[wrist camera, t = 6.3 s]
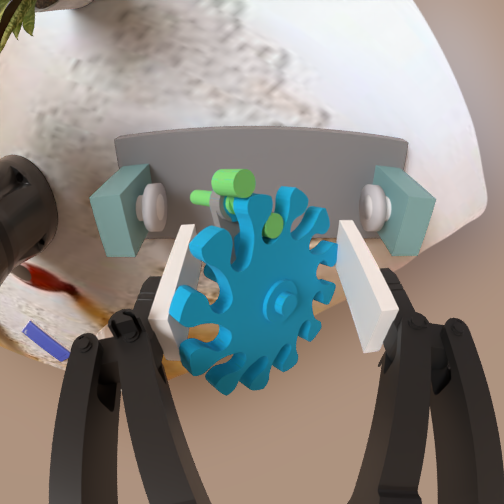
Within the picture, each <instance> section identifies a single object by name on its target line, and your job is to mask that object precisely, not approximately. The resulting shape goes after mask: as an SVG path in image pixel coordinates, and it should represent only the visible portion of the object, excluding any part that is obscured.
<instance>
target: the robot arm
mask: <svg viewBox="0 0 504 504" xmlns="http://www.w3.org/2000/svg"><path fill="white" fill-rule="evenodd" d="M56 229H57V209H56V204H55V200H54V197H53V194H52V191H51V189H50V187H49V185H48V183H47V181H46V179H45V178H44V176H43V175H42V173H41V172H40V171H39V170H38V169H37V167H36V166H35V165H33V164H32V163H31V162H30V161H28V160H27V159H25V158H23V157H21V156H17V155H8V156H5V157H3V158H1V159H0V286H1V284H2V283H3V281H4V280H5V279H6V277H7V276H8V274H9V273H10V272H11V271H12V269H13V268H14V267H16V266H18V265H20V264H21V263H23V262H25V261H27V260H28V259H30V258H32V257H34V256H36V255H37V254H39V253H41V252H42V251H43V250H44V249H45V248H46V246H47V245H48V244H49V243H50V242H51V240H52V239H53V237H54V235H55V233H56ZM196 235H197V234H196V228H195V224H189V225H181V227H180V229H179V232H178V234H177V237H176V240H175V242H174V245H173V248H172V250H171V253H170V256H169V258H168V261H167V264H166V267H165V269H164V272H163V275H162V277H149V278H148V279H147V280H146V281H145V282H144V283H143V285H142V288H141V290H140V294H139V296H138V298H137V301H136V303H135V306H134V309H133V310H132V309H122V310H120V311H118V312H116V313H115V314H113V315H112V316H111V318H110V319H109V321H108V327H109V329H110V331H111V333H112V334H113V337H109V338H105V339H100V340H98V338H97V336H95V335H94V334H91V333H86V334H82V335H80V336H79V337H77V338H76V340H75V341H74V342H73V345H72V347H71V351H70V355H69V359H68V363H67V367H66V371H65V375H64V379H63V384H62V388H61V393H60V398H59V403H58V409H57V415H56V421H55V428H54V435H53V443H52V453H51V464H50V479H49V504H118V496H117V444H118V423H119V409H120V396H121V389H122V395H123V401H124V406H125V412H126V417H127V422H128V427H129V432H130V436H131V441H132V445H133V449H134V453H135V457H136V461H137V464H138V468H139V472H140V475H141V478H142V481H143V485H144V488H145V491H146V494H147V497H148V500H149V503H150V504H211V502H210V500H209V497H208V495H207V493H206V490H205V488H204V486H203V483H202V481H201V479H200V476H199V474H198V471H197V469H196V466H195V463H194V461H193V458H192V456H191V453H190V450H189V448H188V445H187V442H186V439H185V436H184V433H183V430H182V427H181V424H180V421H179V418H178V415H177V412H176V409H175V405H174V402H173V398H172V395H171V392H170V388H169V384H168V381H167V377H166V373H165V369H164V366H163V364H162V357H163V354H164V356H165V358H166V360H173V361H181V359H180V355H179V347H180V344H181V343H182V342H183V341H185V340H187V337H188V332H189V327H185V326H183V325H181V324H180V323H179V322H178V321H176V320H175V319H174V318H173V317H172V316H171V315H170V314H169V308H170V304H171V301H172V298H173V296H174V294H175V292H176V290H177V289H178V287H179V286H180V285H188V286H190V287H192V288H194V289H195V290H197V285H198V280H199V275H200V270H201V266H202V263H201V260H199V259H196V258H195V257H194V256H193V255H192V254H191V252H190V249H189V243H190V242H191V241H192V240H193V238H194V237H195V236H196ZM336 243H337V244H338V251H337V261H336V264H335V267H336V270H337V272H338V275H339V278H340V281H341V284H342V287H343V290H344V292H345V295H346V298H347V301H348V304H349V307H350V311H351V314H352V317H353V320H354V323H355V326H356V329H357V333H358V336H359V339H360V343H361V346H362V349H363V353H369V352H376V351H379V350H380V348H381V346H382V344H384V347H385V350H386V351H385V353H384V354H383V356H382V358H381V360H380V362H379V364H378V367H380V366H381V364H382V367H381V374H380V381H379V388H378V394H377V399H376V405H375V410H374V415H373V421H372V425H371V430H370V434H369V438H368V443H367V447H366V451H365V454H364V458H363V462H362V466H361V469H360V472H359V476H358V479H357V482H356V486H355V489H354V492H353V495H352V497H351V499H350V500H349V502H348V503H347V504H422V501H421V498H420V496H419V495H418V491H417V490H418V485H419V480H420V476H421V470H422V465H423V459H424V453H425V446H426V439H427V430H428V419H429V407H430V409H431V416H432V423H433V431H434V439H435V449H436V462H437V481H438V504H504V470H503V460H502V452H501V445H500V438H499V432H498V427H497V422H496V417H495V412H494V408H493V404H492V400H491V396H490V392H489V388H488V384H487V381H486V377H485V374H484V371H483V368H482V365H481V361H480V358H479V356H478V353H477V350H476V347H475V344H474V341H473V339H472V336H471V333H470V331H469V329H468V327H467V325H466V324H465V323H464V322H463V321H462V320H460V319H457V318H450V319H449V320H447V322H446V323H445V325H438V324H432V323H429V322H428V320H427V319H426V317H424V316H423V315H422V314H420V313H417V312H415V310H414V308H413V306H412V304H411V302H410V300H409V298H408V296H407V294H406V292H405V290H403V287H402V285H401V284H400V281H399V279H398V278H397V276H396V274H395V273H393V272H392V271H391V270H390V269H389V268H382V269H379V267H378V265H377V263H376V262H375V260H374V258H373V256H372V254H371V252H370V250H369V248H368V247H367V245H366V243H365V241H364V239H363V238H362V236H361V234H360V232H359V231H358V229H357V227H356V225H355V224H354V222H353V220H339V227H338V234H337V241H336Z"/></svg>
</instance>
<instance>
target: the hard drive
mask: <svg viewBox="0 0 504 504" xmlns="http://www.w3.org/2000/svg"><path fill="white" fill-rule="evenodd" d="M22 332H23V333H24V334H25V335H26V336H28V337H29V338H30V339H31V340H32V341H34V342H35V343H36V344H38V345H39V346H40V347H41V348H43V349H44V350H45V351H47V352H48V353H49V354H51V355H52V356H53V357H55V358H56V359H58V360H59V361H61V362H62V361H64V360H65V359H67V358H69V355H70V351H71V350H70V349H69V348H67V347H66V346H64V345H63V344H62V343H61V342H59V341H58V340H57V339H55V338H54V337H53V336H52V335H50V334H49V333H48V332H47V331H45V330H44V329H43V328H42V327H40V326H39V325H38V324H37V323H36V322H34V321H33V320H32V319H30V320H29V321H28V323H27V324H26V325H25V327H24V328H23V329H22Z"/></svg>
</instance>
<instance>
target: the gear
mask: <svg viewBox="0 0 504 504" xmlns="http://www.w3.org/2000/svg"><path fill="white" fill-rule="evenodd" d="M211 184H212V189H213V190H212V191H206V190H194V191H193V192H192V193H191V195H190V200H191V202H192V203H193V204H196V205H202V206H208V207H210V210H211V213H212V217H213V221H214V224H215V226H212V225H211V226H208V227H206V228H205V229H203V230H202V231H200V232H199V233H198V234H197V235H196V236H195V237H194V238H193V240H192V241H191V242H190V243H189V249H190V252H191V254H192V255H193V256H194V257H195V258H196V259H199V260H201V261H203V262H204V263H206V265H205V267H204V275H205V276H206V277H207V278H209V279H211V280H213V281H215V282H217V283H218V285H219V288H220V294H219V297H218V299H217V300H216V301H215V303H213V304H212V305H209V302H208V299H207V298H206V296H205V295H203V294H202V293H200V292H198V291H197V290H195V289H194V288H192V287H190V286H188V285H180V286H179V287H178V289H177V290H176V292H175V294H174V296H173V298H172V301H171V304H170V308H169V314H170V315H171V316H172V317H173V318H174V319H175V320H176V321H178V322H179V323H180V324H181V325H183V326H185V327H194V326H197V325H200V324H205V323H214V324H218V325H219V333H218V335H217V337H216V338H215V339H214V340H213V341H211V342H208V343H205V342H202V341H200V340H198V339H195V338H190V339H187V340H185V341H183V342H182V343H181V344H180V347H179V355H180V359H181V362H182V365H183V366H184V367H185V368H186V369H187V370H188V371H189V372H190V373H191V374H192V375H193V376H198V375H201V374H203V373H205V372H206V371H207V370H208V369H209V368H210V367H211V366H212V365H213V364H215V363H216V362H217V361H219V360H220V359H222V358H224V357H226V356H228V355H231V354H233V356H232V358H231V359H230V360H229V361H228V362H226V363H223V364H219V365H216V366H214V367H212V368H211V369H210V370H209V371H208V372H207V374H206V375H205V377H206V380H207V381H208V382H209V383H210V384H211V385H213V386H214V387H215V388H216V389H217V390H218V391H219V392H221V393H222V394H224V395H228V394H230V393H231V392H232V391H233V390H234V389H235V387H236V386H237V383H238V381H240V382H241V383H242V384H244V385H245V386H246V387H248V388H249V389H251V390H260V389H263V388H264V387H265V386H266V385H267V382H268V380H269V373H270V369H271V366H272V365H273V366H274V367H276V368H277V369H279V370H281V371H282V372H285V371H287V370H289V369H290V368H292V367H293V366H294V365H295V364H296V363H297V361H298V354H297V351H296V341H297V336H299V337H301V338H304V339H306V340H307V341H310V342H311V341H312V340H313V339H314V338H315V336H316V335H317V334H318V332H319V331H320V329H321V322H320V321H318V320H316V319H315V318H314V315H313V310H312V301H313V299H314V300H316V301H318V302H321V303H323V304H326V305H327V304H329V303H330V301H331V299H332V296H333V294H334V291H335V287H336V285H335V284H334V283H332V282H329V281H326V280H323V279H319V280H318V279H317V277H316V270H317V267H318V265H319V263H320V264H323V265H326V266H330V267H332V266H334V265H335V264H336V261H337V251H338V244H337V243H333V242H329V241H325V240H322V241H320V242H319V243H318V245H317V246H316V247H314V248H313V249H311V250H309V244H310V240H311V238H312V237H313V235H314V234H325V233H326V232H327V231H328V229H329V227H330V221H329V216H328V213H327V211H326V208H322V207H315V206H310V207H308V208H307V206H308V201H309V199H308V198H307V196H306V195H305V194H304V193H303V192H302V191H301V190H299V189H298V188H296V187H286V186H281V187H280V188H279V190H278V191H277V194H276V198H275V210H274V213H273V212H272V208H273V201H272V197H271V196H270V195H266V194H256V193H253V192H254V190H255V186H256V181H255V176H254V175H253V173H252V172H251V171H250V170H248V169H220V170H218V171H216V172H215V173H214V175H213V177H212V181H211ZM306 209H307V210H306ZM304 212H305V214H304V216H303V218H302V220H301V222H300V224H299V225H298V226H297V227H296V229H295V230H293V231H292V232H291V225H292V223H293V221H294V220H295V219H296V218H297V217H299V216H301V215H302V214H303V213H304Z"/></svg>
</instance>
